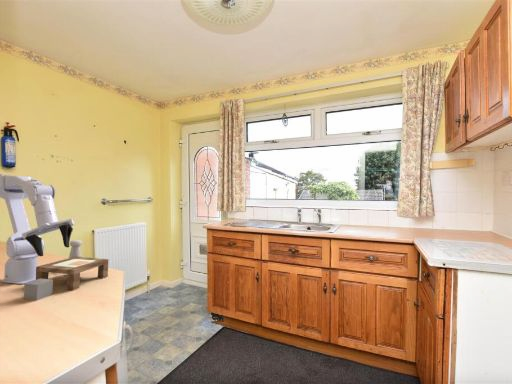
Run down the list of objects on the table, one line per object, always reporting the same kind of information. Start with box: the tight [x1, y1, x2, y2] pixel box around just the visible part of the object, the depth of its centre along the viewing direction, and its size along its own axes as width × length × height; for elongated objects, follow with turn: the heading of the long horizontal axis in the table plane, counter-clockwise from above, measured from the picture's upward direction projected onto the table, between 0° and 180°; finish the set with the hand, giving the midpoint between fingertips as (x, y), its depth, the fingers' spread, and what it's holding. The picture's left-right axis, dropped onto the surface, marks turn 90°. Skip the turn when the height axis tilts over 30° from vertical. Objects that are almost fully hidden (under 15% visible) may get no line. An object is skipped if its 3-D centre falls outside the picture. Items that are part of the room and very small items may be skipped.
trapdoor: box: [51, 259, 96, 268], centre depth 97 cm, size 10×10×1 cm
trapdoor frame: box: [36, 256, 109, 291], centre depth 97 cm, size 16×16×7 cm
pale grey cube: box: [23, 278, 54, 301], centre depth 82 cm, size 5×5×5 cm
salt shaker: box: [68, 239, 83, 258], centre depth 111 cm, size 6×6×13 cm
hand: (54, 251), depth 85 cm, fingers open, 7 cm apart
